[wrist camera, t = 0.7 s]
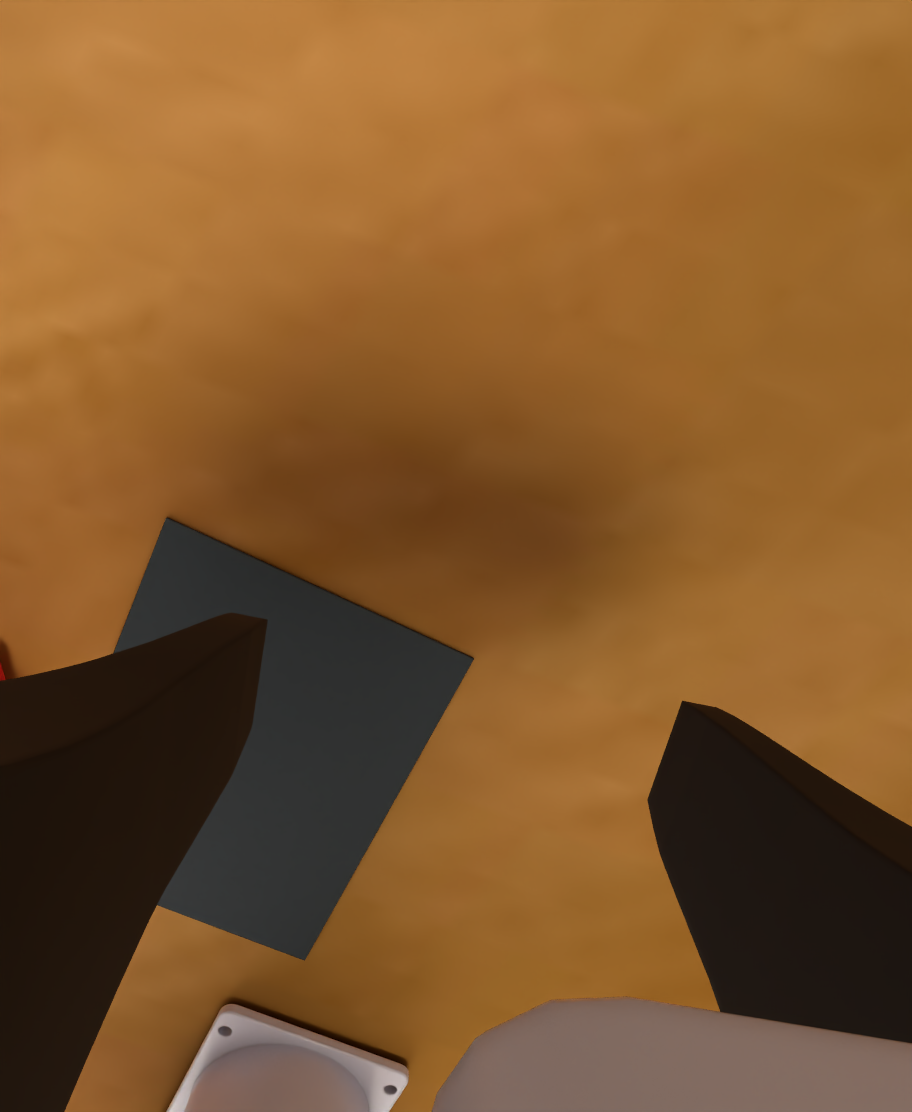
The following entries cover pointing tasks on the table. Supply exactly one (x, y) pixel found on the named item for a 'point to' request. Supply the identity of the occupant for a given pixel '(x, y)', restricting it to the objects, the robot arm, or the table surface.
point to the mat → (294, 737)
